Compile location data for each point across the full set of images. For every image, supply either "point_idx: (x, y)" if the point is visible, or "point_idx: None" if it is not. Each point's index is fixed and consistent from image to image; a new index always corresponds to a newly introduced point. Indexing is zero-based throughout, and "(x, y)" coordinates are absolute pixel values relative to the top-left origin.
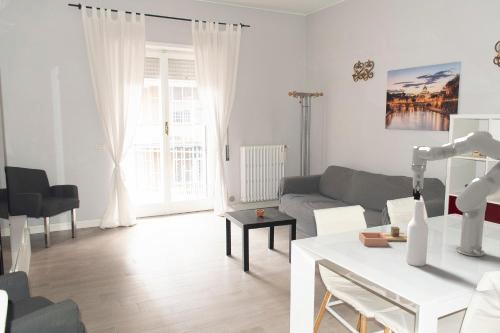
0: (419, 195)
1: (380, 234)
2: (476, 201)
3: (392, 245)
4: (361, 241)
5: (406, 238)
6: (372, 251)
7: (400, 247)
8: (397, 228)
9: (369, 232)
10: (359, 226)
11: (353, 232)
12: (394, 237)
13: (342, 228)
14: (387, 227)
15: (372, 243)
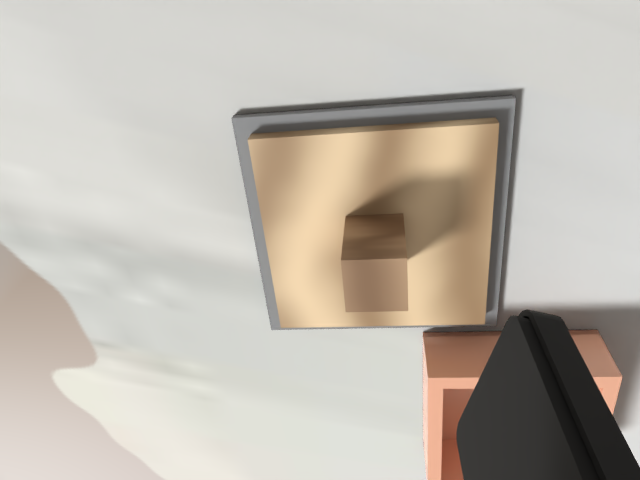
0: (604, 460)
1: (473, 385)
2: None
3: (558, 285)
4: None
5: (444, 160)
6: None
7: (618, 243)
8: (407, 276)
9: (431, 441)
10: (71, 379)
11: (246, 436)
12: (417, 252)
13: (165, 469)
14: (8, 196)
15: None
